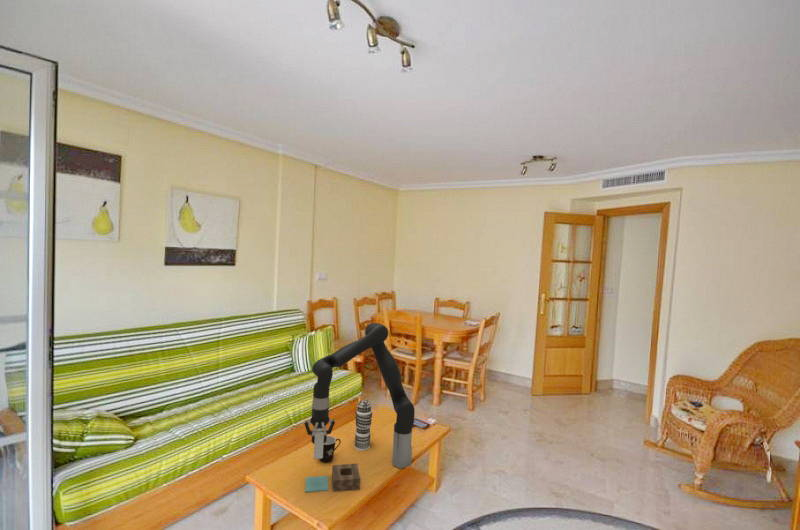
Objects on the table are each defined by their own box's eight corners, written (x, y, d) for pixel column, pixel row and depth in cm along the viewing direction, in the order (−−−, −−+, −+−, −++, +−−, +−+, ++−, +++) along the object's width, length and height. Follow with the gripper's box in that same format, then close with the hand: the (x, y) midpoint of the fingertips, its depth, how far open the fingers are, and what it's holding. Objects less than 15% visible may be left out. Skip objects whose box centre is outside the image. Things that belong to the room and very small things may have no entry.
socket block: (357, 473, 178) (357, 463, 178) (359, 489, 166) (360, 478, 166) (332, 475, 175) (332, 465, 175) (332, 491, 164) (333, 480, 163)
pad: (327, 476, 174) (327, 475, 174) (328, 490, 164) (328, 489, 164) (306, 478, 172) (306, 477, 172) (305, 492, 162) (305, 491, 162)
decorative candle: (362, 453, 196) (365, 407, 195) (350, 446, 202) (352, 401, 201) (374, 446, 203) (376, 401, 202) (361, 440, 209) (364, 397, 208)
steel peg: (322, 453, 170) (324, 427, 170) (322, 458, 166) (324, 432, 166) (313, 453, 169) (315, 428, 169) (313, 458, 165) (314, 432, 165)
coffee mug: (318, 465, 183) (319, 445, 183) (317, 455, 191) (318, 436, 191) (341, 462, 186) (342, 443, 186) (339, 453, 195) (340, 434, 194)
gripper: (336, 401, 172) (334, 437, 173) (304, 402, 169) (303, 439, 170) (336, 408, 165) (334, 446, 165) (304, 409, 162) (302, 448, 162)
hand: (318, 442), depth 167 cm, fingers closed on steel peg, 4 cm apart
